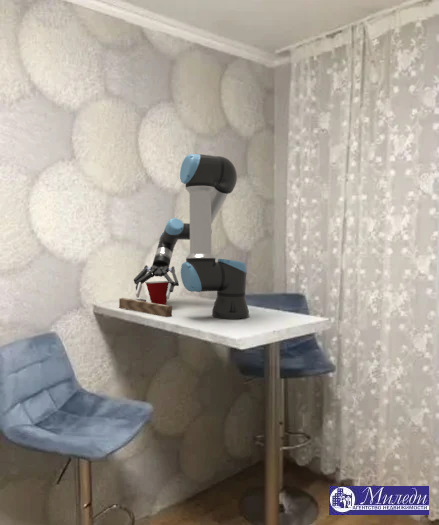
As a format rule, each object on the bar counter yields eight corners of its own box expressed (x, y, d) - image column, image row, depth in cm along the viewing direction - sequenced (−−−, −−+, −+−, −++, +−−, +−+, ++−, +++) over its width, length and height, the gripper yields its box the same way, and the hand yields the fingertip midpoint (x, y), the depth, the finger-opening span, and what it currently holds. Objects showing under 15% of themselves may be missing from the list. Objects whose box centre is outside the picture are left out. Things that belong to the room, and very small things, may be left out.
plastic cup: (177, 306, 207) (174, 278, 206) (158, 310, 199) (155, 282, 199) (162, 305, 215) (159, 279, 214) (142, 309, 207) (139, 282, 206)
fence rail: (185, 313, 197) (185, 303, 197) (166, 317, 188) (166, 306, 188) (138, 305, 215) (138, 295, 215) (119, 307, 207) (119, 298, 206)
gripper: (190, 266, 219) (181, 303, 205) (138, 263, 222) (126, 300, 209) (187, 255, 213) (179, 292, 199) (134, 253, 217) (122, 289, 203)
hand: (152, 296), depth 204 cm, fingers open, 13 cm apart
